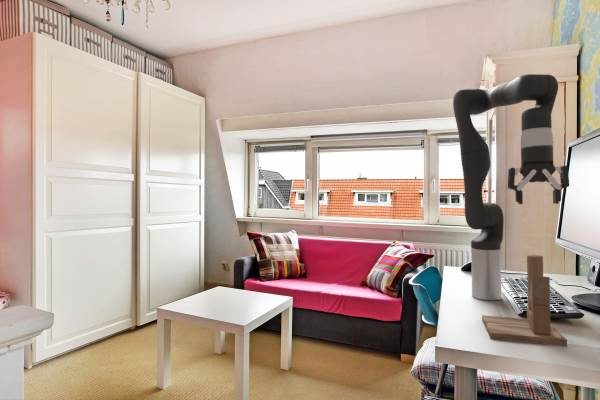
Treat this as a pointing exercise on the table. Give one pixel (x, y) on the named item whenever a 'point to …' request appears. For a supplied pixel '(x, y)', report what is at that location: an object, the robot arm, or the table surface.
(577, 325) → the table surface
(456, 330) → the table surface
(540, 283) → the tan cylinder-on-bar part
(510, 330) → the board
